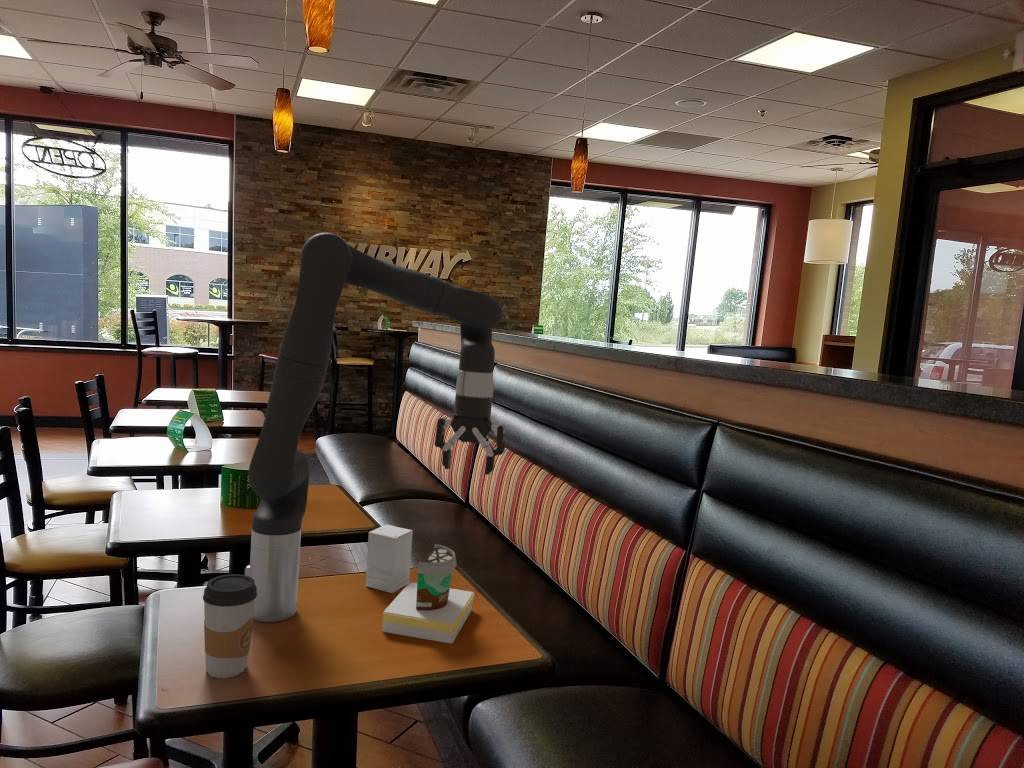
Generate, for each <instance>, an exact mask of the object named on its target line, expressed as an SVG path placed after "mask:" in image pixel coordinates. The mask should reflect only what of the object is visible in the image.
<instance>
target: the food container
mask: <svg viewBox="0 0 1024 768" xmlns="http://www.w3.org/2000/svg"><path fill="white" fill-rule="evenodd" d="M433 545H434V546H433V550H432V551H431V552H430V553H429V554H427V555H426V557H425V558H424V560H423V561H418V564H417V568H416V569H417V570H416V574H417V580H416V581H417V582H416V583H417V600H416V610H423V611H430V610H437V609H440V608H443V607H444V606H446V605H447V602H448V596H449V590H450V588H451V584H452V576H453V570H454V569H455V568H456V567H457V564H458V563H457V557H456V554H455V551H454V550H452V549H451V548H449V547H448V546H444V545H441V544H436V543H434V544H433Z"/></svg>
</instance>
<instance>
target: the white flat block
mask: <svg viewBox="0 0 1024 768" xmlns="http://www.w3.org/2000/svg"><path fill="white" fill-rule="evenodd" d="M416 600H417V582H413V581H409V584H407V585H406V586H404V587H403V588H402V591H400V592H399V593H398V595H397V596H396V597H395V598H394V599H393V600H392V602H390V604H389V605H388V606H387V607H386V608H385V609H384V611H383V612H382V619H381V620H382V628H381V632H382V633H388V634H393V635H401V636H406V637H411V638H416V639H422V640H423V639H424V640H429V641H433V642H434V641H436V642H440V643H445V644H451V645H452V644H453V643H454V641H455V639H456V638H457V636H458V634H459V633H460V631H461V629H462V627H464V625H465V622H466V620H467V619H468V617H469V615H470V614H471V612H472V611H471V610H472V609H473V603H474V600H475V592H473V591H470V590H463V589H462V590H461V589H455V588H451V587H450V590H449V596H448V602H447V605H446V606H444V607H443V608H440V609H437V610H430V611H423V610H416Z"/></svg>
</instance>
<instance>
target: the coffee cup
mask: <svg viewBox="0 0 1024 768" xmlns="http://www.w3.org/2000/svg"><path fill="white" fill-rule="evenodd" d="M256 590H257V587H256V585H255V581H254V579H253V578H251V577H249V576H246V575H245V574H240V573H239V574H237V573H236V574H234V573H233V574H224V575H219V576H215V577H213V578H211V579H209V580H208V581H207V583H206V587H204V589H203V595H202V600H203V604H204V606H203V608H204V609H203V611H204V620H203V628H204V629H203V630H204V631H203V635H204V653H205V670H206V672H207V674H208V675H209V676H210V677H212V678H214V677H215V679H221V678H222V679H230V678H229V677H231V678H234V677H233V676H235V675H237V674H239V673H241V672H242V671H243V670H244V669H245V670H246V668H247V667H248V660H249V652H250V648H251V642H252V641H251V640H252V632H253V625H254V620H253V619H254V618H253V614H254V606H255V598H256V597H257V591H256ZM245 670H244V671H245ZM244 671H243V672H244ZM243 672H242V673H243ZM242 673H241V674H242ZM239 675H240V674H239ZM237 676H238V675H237ZM235 677H236V676H235Z"/></svg>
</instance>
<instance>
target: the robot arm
mask: <svg viewBox="0 0 1024 768" xmlns="http://www.w3.org/2000/svg"><path fill="white" fill-rule="evenodd" d="M298 277H299V278H298V285H297V290H296V291H297V292H296V297H295V303H294V306H293V309H292V313H291V315H290V317H289V320H288V322H287V325H286V328H285V330H284V333H283V337H282V340H281V344H280V347H279V349H278V355H277V359H276V364H275V368H274V374H273V378H272V384H271V388H270V391H269V392H270V393H269V397H268V401H267V406H266V411H265V416H264V421H263V424H262V428H261V431H260V434H259V437H258V440H257V442H256V446H255V448H254V450H253V451H254V452H253V454H252V457H251V461H250V463H249V467H248V473H247V474H248V475H247V476H248V477H247V478H248V483H249V486H250V487H251V489H252V492H253V493H254V494H255V495H257V497H259V498H260V503H258V506H257V509H256V510H255V512H254V513H253V515H252V519H251V520H252V522H251V538H250V555H249V556H250V557H249V564H248V565H246V566H245V568H244V575H246V576H249V577H251V578H253V579H254V581H255V585H256V587H257V590H256V591H257V597H256V598H255V606H254V614H253V618H254V619H253V621H256V622H262V623H263V622H264V623H271V622H272V623H275V622H281V621H284V620H285V621H286V620H288V619H290V618H292V617H294V616H295V614H296V613H297V605H298V604H297V603H298V588H299V573H300V572H299V571H300V556H301V555H300V554H301V540H302V539H301V537H302V525H303V524H302V523H303V518H304V516H305V514H306V511H307V510H306V509H307V503H308V494H309V484H310V483H309V482H310V465H309V464H310V463H309V460H308V458H307V456H306V454H305V453H304V452H303V451H302V450H301V449H300V448H299V447H298V446H299V441H300V438H301V434H302V431H303V429H304V426H305V424H306V422H307V420H308V418H309V417H310V414H311V413H312V410H313V409H314V407H315V405H316V403H317V401H318V399H319V398H320V395H321V392H322V390H323V387H324V383H325V379H326V375H327V373H328V371H327V370H328V367H329V366H328V365H329V361H330V356H331V351H332V343H333V338H334V337H333V336H334V328H335V327H334V325H335V324H334V323H335V316H336V313H337V307H338V305H339V301H340V298H341V295H342V292H343V289H344V286H345V285H350V286H355V287H359V288H363V289H365V290H369V291H371V292H375V293H377V294H380V295H383V296H385V297H387V298H389V299H392V300H394V301H396V302H399V303H401V304H404V305H407V306H409V307H411V308H414V309H416V310H420V311H422V312H425V313H428V314H432V315H434V316H437V317H443V318H449V319H452V320H454V321H457V322H459V326H460V327H459V328H460V331H459V332H460V352H459V364H458V373H457V377H456V384H455V385H456V387H455V398H454V411H453V418H452V419H449V418H446V417H445V416H443V417H440V418H438V419H437V423H436V430H435V437H434V446H435V447H436V448H439V449H441V450H442V459H441V461H442V462H441V464H442V467H444V469H445V470H449V469H451V466H452V465H451V464H452V452H453V450H452V449H451V448H453V446H455V444H457V442H459V441H460V442H462V443H470V444H480V446H481V448H483V450H484V451H485V452H486V454H487V456H486V459H485V469H484V474H485V475H486V476H487V475H491V473H492V472H493V471H494V470H495V457H496V456H500V455H503V453H504V452H505V451H506V450H505V449H506V425H505V424H503V423H501V424H492V422H491V419H492V405H493V394H494V368H495V355H496V353H495V347H494V345H493V343H492V342H493V341H492V339H493V329H494V328H495V327H497V326H498V325H499V323H500V322H501V319H502V317H503V309H502V306H501V304H500V303H499V301H498V300H497V299H496V298H495V297H493V296H492V295H490V294H486V293H483V292H480V291H477V290H473V289H469V288H465V287H462V286H459V285H455V284H453V283H451V282H449V281H447V280H444V279H441V278H439V277H435V276H432V275H430V274H427V273H424V272H421V271H419V270H415V269H412V268H407V267H404V266H402V265H401V266H400V265H397V264H394V263H390V262H387V261H384V260H381V259H379V258H376V257H374V256H372V255H369V254H367V253H364V252H362V251H361V250H359V249H357V248H355V247H353V246H352V245H350V244H348V242H346V240H344V239H343V237H341V236H339V235H337V234H335V233H332V232H319V233H316V234H314V235H312V236H310V237H309V238H308V239H307V240H306V241H305V243H304V244H303V246H302V249H301V253H300V267H299V276H298ZM449 426H451V429H452V430H453V431H454V434H453V435H452V436H451V437H450V438H449V439H448V441H447V442H446V441H445V435H446V433H445V432H446V430H447V429H448V428H449ZM491 431H493V434H494V436H496V448H494V446H493V444H492V441H491V439H490V438H489V436H488V434H489V433H490V432H491Z"/></svg>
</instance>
